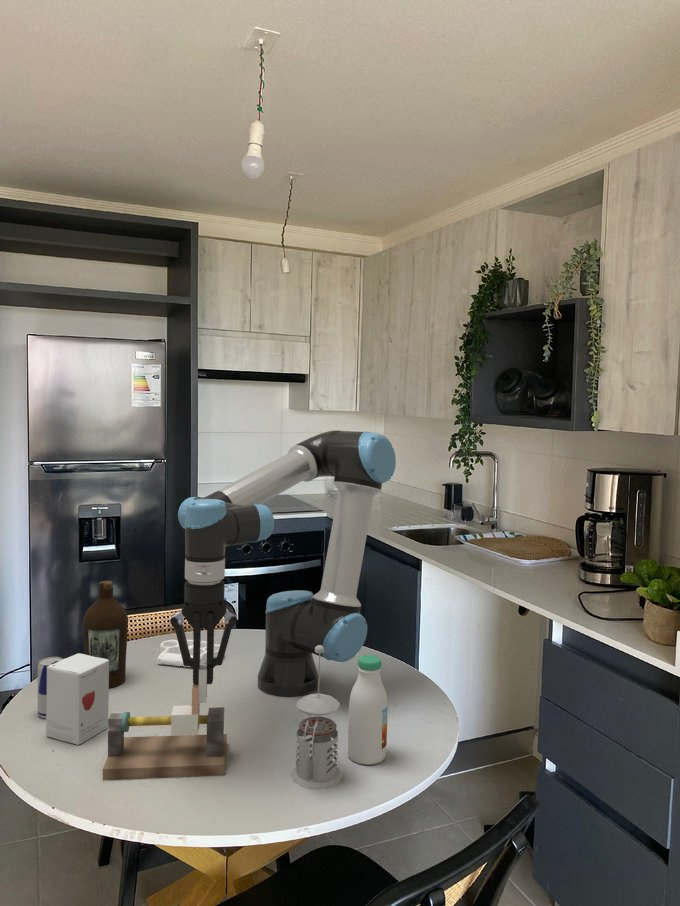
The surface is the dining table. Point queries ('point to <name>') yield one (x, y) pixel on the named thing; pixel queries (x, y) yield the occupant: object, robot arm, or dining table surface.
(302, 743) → the french press
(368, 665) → the milk bottle
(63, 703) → the supplement box
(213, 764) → the axle on two posts
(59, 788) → the dining table surface
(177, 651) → the white brass knuckles
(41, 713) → the energy drink
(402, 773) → the dining table surface
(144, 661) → the dining table surface
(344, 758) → the dining table surface
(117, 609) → the olive oil
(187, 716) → the cube with tan panel
